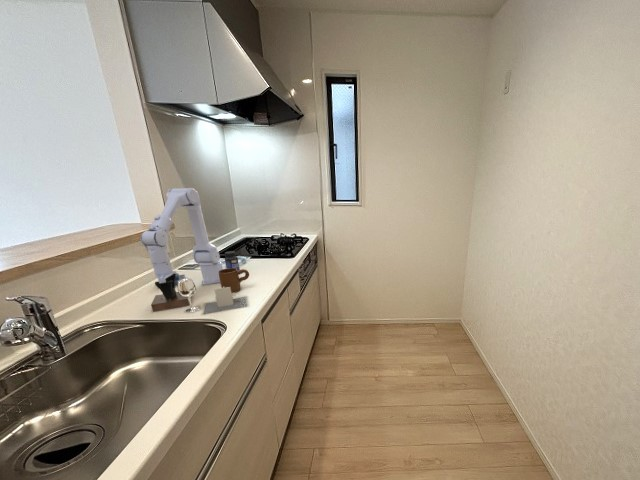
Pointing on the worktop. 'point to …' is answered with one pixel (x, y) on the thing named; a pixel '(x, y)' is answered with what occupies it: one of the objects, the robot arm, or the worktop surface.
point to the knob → (173, 293)
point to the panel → (169, 302)
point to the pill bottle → (231, 260)
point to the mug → (232, 278)
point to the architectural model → (224, 301)
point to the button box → (179, 278)
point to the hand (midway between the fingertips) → (170, 294)
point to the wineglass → (187, 291)
